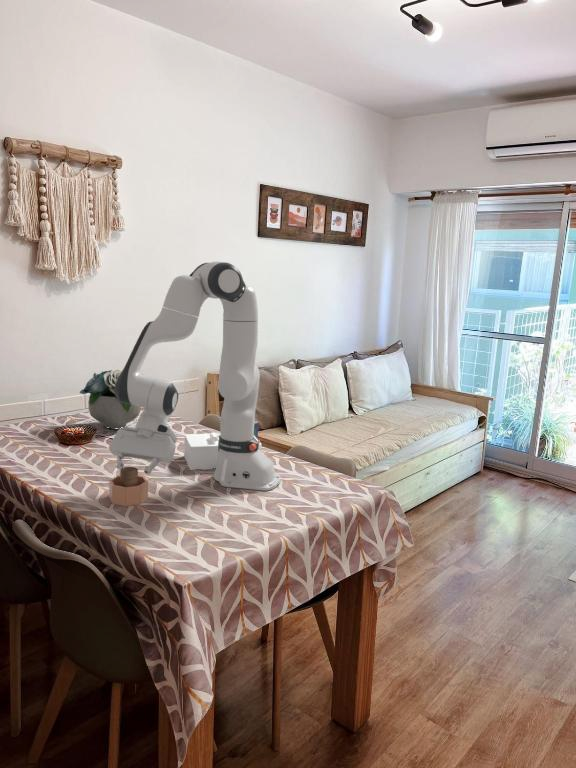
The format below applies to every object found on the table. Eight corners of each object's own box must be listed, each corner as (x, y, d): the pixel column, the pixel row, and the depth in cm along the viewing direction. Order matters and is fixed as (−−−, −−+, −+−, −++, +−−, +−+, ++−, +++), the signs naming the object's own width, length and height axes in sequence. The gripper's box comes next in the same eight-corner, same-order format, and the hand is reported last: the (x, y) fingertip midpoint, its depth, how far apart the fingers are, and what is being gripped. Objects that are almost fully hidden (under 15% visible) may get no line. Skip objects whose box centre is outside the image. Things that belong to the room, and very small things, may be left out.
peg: (140, 493, 176) (141, 468, 174) (131, 499, 171) (132, 473, 170) (125, 490, 177) (126, 465, 176) (116, 496, 173) (117, 471, 171)
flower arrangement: (123, 439, 229) (124, 378, 224) (70, 429, 237) (70, 370, 232) (157, 424, 252) (158, 368, 247) (108, 416, 260) (108, 361, 255)
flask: (254, 441, 238) (255, 416, 235) (259, 443, 236) (261, 417, 234) (239, 446, 230) (240, 420, 228) (244, 448, 228) (246, 421, 226)
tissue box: (184, 457, 215) (185, 428, 212) (250, 454, 222) (251, 426, 220) (190, 470, 201) (191, 440, 199) (260, 467, 209) (262, 438, 207)
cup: (153, 495, 178) (153, 478, 177) (134, 508, 168) (135, 489, 167) (122, 489, 181) (122, 472, 180) (103, 501, 171) (103, 483, 170)
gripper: (115, 421, 181) (97, 461, 174) (175, 429, 176) (159, 470, 169) (123, 431, 187) (106, 470, 179) (182, 439, 181) (167, 480, 174)
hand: (132, 470), depth 174 cm, fingers open, 8 cm apart
